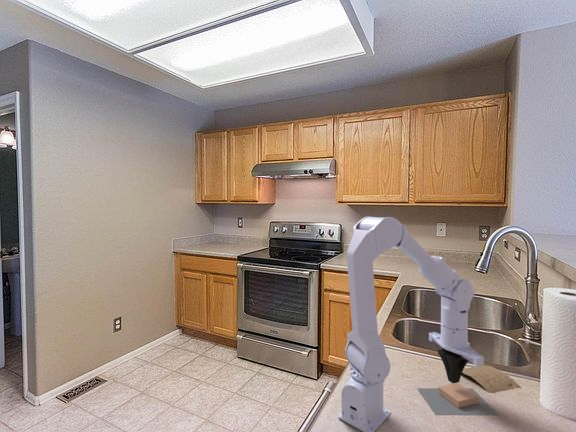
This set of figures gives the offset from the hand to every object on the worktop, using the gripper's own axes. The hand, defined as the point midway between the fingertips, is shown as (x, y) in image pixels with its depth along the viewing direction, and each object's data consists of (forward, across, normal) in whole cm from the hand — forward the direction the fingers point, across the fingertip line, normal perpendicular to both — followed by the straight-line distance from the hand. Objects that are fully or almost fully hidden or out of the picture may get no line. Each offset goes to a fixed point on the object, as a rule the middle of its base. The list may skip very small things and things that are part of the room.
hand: (453, 381), depth 74 cm
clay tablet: (+5, +4, -14) cm, 15 cm away
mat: (+4, -2, +1) cm, 4 cm away
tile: (+2, +2, 0) cm, 3 cm away
